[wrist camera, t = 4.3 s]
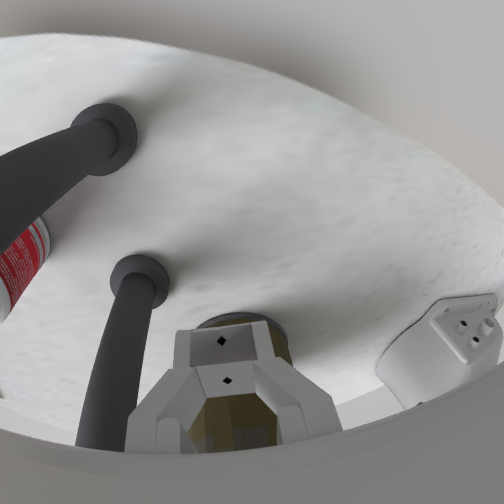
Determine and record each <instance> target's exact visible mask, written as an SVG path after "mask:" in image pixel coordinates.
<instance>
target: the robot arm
mask: <svg viewBox="0 0 504 504" xmlns="http://www.w3.org/2000/svg"><path fill="white" fill-rule="evenodd" d="M497 302H498V299H497V297H496V296H495V295H494V294H491V295H482V296H472V297H462V298H451V299H442V300H439V301H438V302H436V303H435V304H434V305H433V306H432V307H431V309H430V310H429V311H428V312H427V313H426V314H425V316H424V317H423V318H422V319H421V320H419V321H418V322H417V323H416V324H414V325H413V326H412V327H410V328H409V329H408V330H406V331H405V332H404V333H403V334H402V335H401V336H399V337H398V338H397V339H396V340H395V341H394V342H393V343H392V344H391V345H390V347H389V348H388V349H387V350H386V351H385V353H384V354H383V356H382V357H381V359H380V361H379V363H378V365H377V369H376V374H377V377H378V378H379V379H380V380H381V381H382V382H383V383H384V384H385V385H386V386H387V387H388V388H389V390H390V391H391V392H392V393H393V395H394V396H395V397H396V398H397V400H398V401H399V403H400V404H401V406H402V407H403V409H404V410H405V411H402V412H399V413H397V414H394V415H391V416H389V417H386V418H383V419H380V420H377V421H374V422H371V423H368V424H365V425H362V426H358V427H355V428H352V429H348V430H344V431H343V429H342V426H341V423H340V420H339V418H338V415H337V412H336V409H335V406H334V403H333V400H332V397H331V396H330V395H329V394H327V393H326V392H325V391H323V390H322V389H321V388H319V387H318V386H317V385H315V384H314V383H313V382H312V381H310V380H309V379H308V378H306V377H305V376H304V375H302V374H301V373H300V372H299V371H297V370H296V369H295V368H293V367H292V366H291V365H290V364H288V363H287V362H286V361H285V360H283V359H282V358H281V357H275V354H274V350H273V346H272V342H271V337H270V333H269V329H268V325H267V322H266V321H265V320H264V321H258V322H251V323H244V324H237V325H229V326H222V327H213V328H201V329H192V330H178V331H177V332H176V336H175V348H174V361H173V369H168V370H167V372H166V373H165V374H164V375H163V376H162V378H161V379H160V380H159V381H158V382H157V384H156V385H155V386H154V387H153V388H152V389H151V391H150V392H149V393H148V394H147V395H146V397H145V398H144V399H143V400H142V401H141V403H140V404H139V405H138V406H137V407H136V408H135V410H134V411H133V412H132V413H131V414H130V416H129V417H128V424H127V432H126V441H125V451H124V452H115V451H106V450H97V449H89V448H83V447H76V446H70V445H65V444H60V443H55V442H49V441H45V440H41V439H37V438H33V437H29V436H25V435H21V434H18V433H14V432H11V431H8V430H5V429H1V428H0V504H504V361H503V362H501V363H500V364H498V365H497V362H498V358H499V354H500V349H501V345H502V341H503V331H502V329H501V327H500V325H499V323H498V322H497V320H496V319H495V318H494V314H495V311H496V308H497ZM247 393H256V394H257V395H258V396H259V397H260V398H261V399H262V400H263V401H264V402H265V404H266V405H267V406H268V407H269V408H270V409H271V410H272V411H273V412H274V413H275V414H276V415H277V445H276V446H270V447H263V448H256V449H248V450H239V451H229V452H216V453H199V454H198V449H197V448H196V446H195V445H194V443H193V442H192V440H191V439H190V437H189V436H188V434H187V432H188V430H189V429H190V427H191V425H192V423H193V422H194V420H195V418H196V417H197V415H198V413H199V412H200V410H201V408H202V406H203V405H204V403H205V401H206V398H211V397H220V396H228V395H237V394H247Z"/></svg>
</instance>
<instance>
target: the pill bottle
mask: <svg viewBox="0 0 504 504" xmlns="http://www.w3.org/2000/svg"><path fill="white" fill-rule="evenodd" d="M49 251H50V239H49V234H48V231H47V228H46V226H45V224H44V223H43V221H42V219H41V218H40V217H38V218H37V219H36V220H35V221H34V222H33V223H32V224H31V225H30V226H29V227H28V228H27V229H26V230H25V231H24V232H23V233H22V234H21V235H20V236H19V237H18V238H17V239H16V240H15V241H14V242H13V243H12V244H11V245H10V246H9V248H8V249H7V250H6V251H5V252H4V253H3V254H2V255H1V256H0V323H2V322H3V321H4V320H5V319H6V318H7V316H8V315H9V314H10V312H11V310H12V309H13V307H14V306H15V304H16V303H17V301H18V299H19V298H20V296H21V295H22V293H23V292H24V290H25V289H26V287H27V286H28V284H29V283H30V282H31V280H32V279H33V277H34V276H35V275H36V273H37V272H38V270H39V269H40V268H41V266H42V265H43V264H44V262H45V261H46V259H47V257H48V255H49Z"/></svg>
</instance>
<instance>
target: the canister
mask: <svg viewBox="0 0 504 504" xmlns="http://www.w3.org/2000/svg"><path fill="white" fill-rule="evenodd" d="M264 320H265V321H266V322H267V325H268V329H269V333H270V337H271V342H272V346H273V350H274V354H275V357H281V358H282V359H283V360H285V361H286V362H287V363H288V364H290V365H291V366H292V367H293V364H292V361H291V357H290V354H289V350H288V341H287V336H286V334H285V332H284V331H283V330H282V328H281V327H280V326H279V325H278V324H277V323H275V322H274V321H272V320H271V319H268V318H266V317H264V316H260V315H255V314H248V313H235V314H227V315H223V316H219V317H217V318H214V319H211V320H208V321H206V322H205V323H203V324H201V325H200V326H198V327H197V328H196V329H201V328H213V327H222V326H229V325H237V324H244V323H251V322H258V321H264ZM187 434H188V436H189V437H190V439H191V440H192V442H193V443H194V445H195V446H196V448H197V449H198V454H199V453H216V452H229V451H239V450H248V449H256V448H263V447H270V446H276V445H277V415H276V414H275V413H274V412H273V411H272V410H271V409H270V408H269V407H268V406H267V405H266V404H265V402H264V401H263V400H262V399H261V398H260V397H259V396H258V395H257V394H256V393H247V394H237V395H228V396H220V397H211V398H206V401H205V403H204V405H203V406H202V408H201V410H200V412H199V413H198V415H197V417H196V418H195V420H194V422H193V423H192V425H191V427H190V429H189V430H188V432H187Z"/></svg>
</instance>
